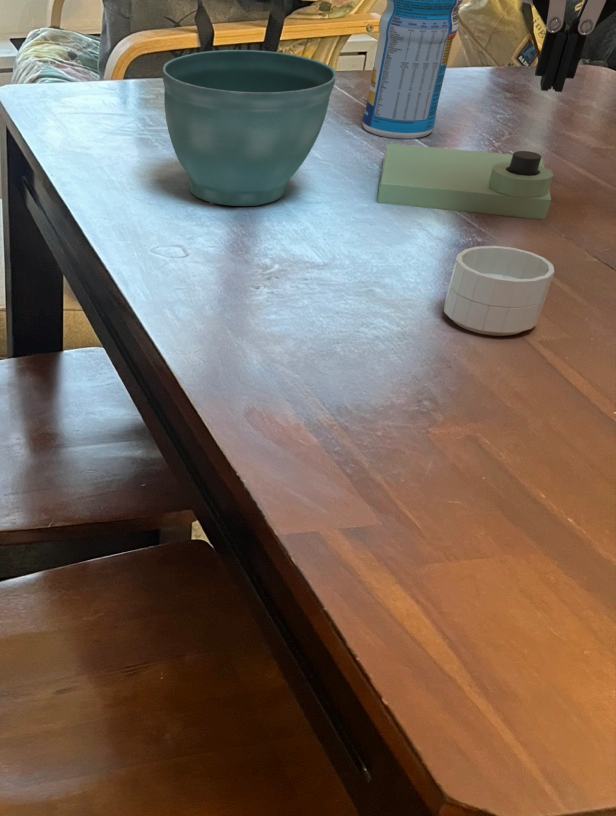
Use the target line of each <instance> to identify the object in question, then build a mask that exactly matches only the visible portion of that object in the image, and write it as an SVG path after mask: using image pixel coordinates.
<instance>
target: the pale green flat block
mask: <svg viewBox="0 0 616 816" xmlns="http://www.w3.org/2000/svg"><path fill="white" fill-rule="evenodd" d="M512 156H513V154H511V153H499V152H489V151H477V150H465V149H456V148H443V147H433V146H432V147H431V146H422V145H410V144H401V143H390V142H389V143H386V146H385V150H384V155H383V160H382V167H381V173H380V179H379V180H380V181H379V187H378V192H377V201H376V203H378V204H386V205H394V206H395V205H396V206H405V207H406V206H407V207H416V208H427V209H435V210H436V209H437V210H448V211H455V212H456V211H457V212H464V213H465V212H467V213H477V214H486V215H498V216H506V217H517V218H526V219H537V220H546V218H547V216H548V212H549V209H550V206H551V203H552V197H551V196H552V195H551V192H550V187H551V184H552V181H553V178H554V174H553V171H552V170H551V169H549V168H547V167H545V165H544V160H543V156H541V160H540V164H539V167H538V170H537V174H536V175H534V176H524V175H517V174H513V173H510V172H508V170H509V167H510V163H511V160H512Z"/></svg>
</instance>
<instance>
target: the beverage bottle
mask: <svg viewBox="0 0 616 816" xmlns="http://www.w3.org/2000/svg"><path fill="white" fill-rule="evenodd" d="M463 1H464V0H386V7H385V9H384V10H383V12H382V13H381V15H380V19H379V22H378V40H377V45H376V51H375V58H374V63H373V68H372V74H371V79H370V84H369V89H368V95H367V100H366V105H365V109H364V112H363V117H362V127H363V129H364V130H365V131H367V132H368V133H370V134H373V135H375V136H379V137H383V138H389V139H395V140H396V139H397V140H414V139H420V138H424V137H426V136H429V135H430V134H431V133H432V132H433V130H434V128H435V123H436V117H437V111H438V105H439V100H440V96H441V91H442V87H443V83H444V79H445V74H446V70H447V66H448V62H449V58H450V53H451V50H452V44H453V40H454V39H455V38H456V36H457V32H458V30H459V29H458V28H459V22H460V21H459V16H458V9H459V7H460V6H461V5H462V3H463Z"/></svg>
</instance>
